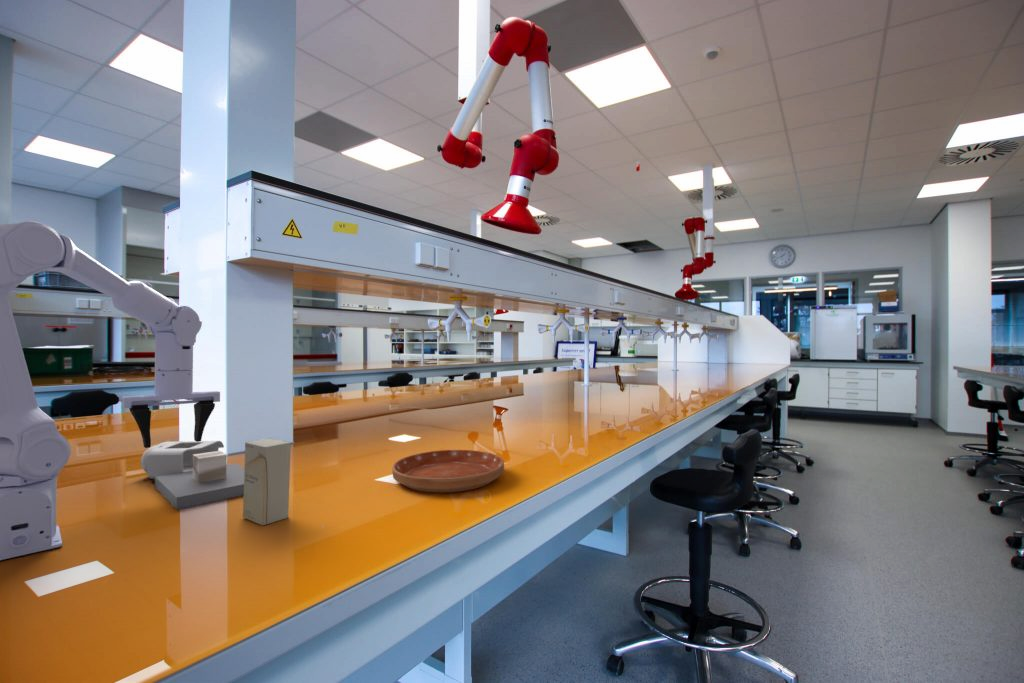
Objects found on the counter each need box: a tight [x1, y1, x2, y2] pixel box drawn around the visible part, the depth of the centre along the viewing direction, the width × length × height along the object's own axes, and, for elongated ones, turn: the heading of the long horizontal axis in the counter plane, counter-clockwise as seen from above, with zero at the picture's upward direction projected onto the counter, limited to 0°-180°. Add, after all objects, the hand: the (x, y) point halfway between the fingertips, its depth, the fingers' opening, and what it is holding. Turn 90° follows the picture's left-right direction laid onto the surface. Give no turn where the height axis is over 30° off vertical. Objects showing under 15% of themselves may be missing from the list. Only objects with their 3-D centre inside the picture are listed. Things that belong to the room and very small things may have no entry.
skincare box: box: [242, 437, 292, 526], centre depth 74 cm, size 6×4×12 cm
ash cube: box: [193, 450, 227, 483], centre depth 89 cm, size 4×4×4 cm
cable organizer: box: [140, 440, 225, 480], centre depth 99 cm, size 7×12×12 cm
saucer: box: [391, 449, 505, 494], centre depth 96 cm, size 23×23×4 cm
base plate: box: [154, 462, 245, 510], centre depth 89 cm, size 18×14×2 cm
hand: (173, 443), depth 85 cm, fingers open, 7 cm apart
